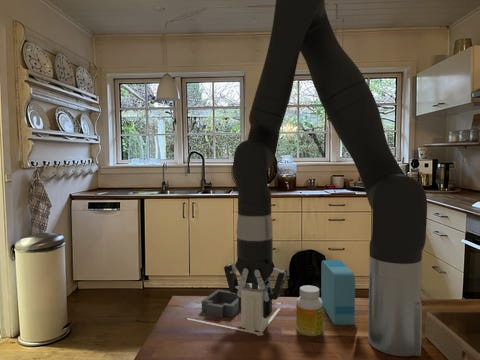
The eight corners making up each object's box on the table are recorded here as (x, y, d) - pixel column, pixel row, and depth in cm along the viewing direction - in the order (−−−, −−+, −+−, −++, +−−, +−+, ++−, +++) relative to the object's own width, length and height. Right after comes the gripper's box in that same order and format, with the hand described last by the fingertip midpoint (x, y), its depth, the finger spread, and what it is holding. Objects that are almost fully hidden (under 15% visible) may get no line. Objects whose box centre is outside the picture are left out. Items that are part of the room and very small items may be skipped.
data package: (354, 329, 74) (355, 274, 74) (333, 329, 74) (334, 274, 74) (339, 306, 86) (339, 258, 86) (321, 306, 86) (321, 258, 86)
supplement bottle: (321, 343, 69) (321, 294, 68) (293, 338, 71) (293, 291, 70) (324, 330, 74) (324, 285, 73) (298, 326, 76) (299, 282, 75)
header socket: (253, 305, 85) (253, 295, 85) (237, 321, 76) (237, 310, 76) (217, 299, 89) (217, 289, 89) (198, 313, 80) (198, 302, 80)
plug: (268, 322, 76) (268, 279, 75) (259, 333, 71) (259, 287, 70) (249, 318, 78) (249, 276, 77) (239, 329, 72) (239, 284, 72)
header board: (282, 313, 82) (282, 308, 82) (261, 341, 70) (261, 336, 70) (215, 301, 90) (215, 297, 90) (185, 324, 77) (185, 320, 77)
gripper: (292, 234, 74) (292, 313, 75) (231, 229, 80) (232, 303, 81) (282, 242, 67) (282, 328, 68) (216, 236, 73) (217, 316, 74)
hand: (255, 314), depth 74 cm, fingers closed on plug, 4 cm apart
